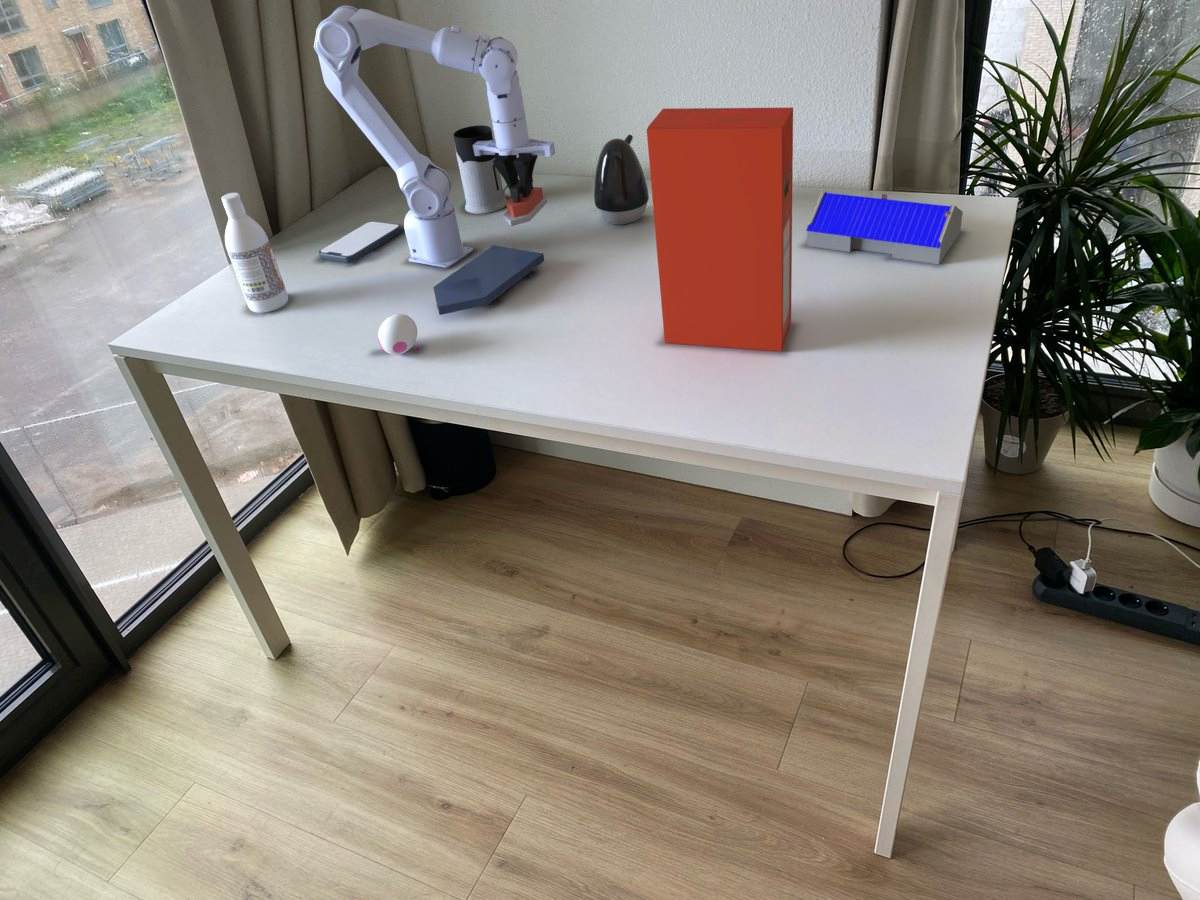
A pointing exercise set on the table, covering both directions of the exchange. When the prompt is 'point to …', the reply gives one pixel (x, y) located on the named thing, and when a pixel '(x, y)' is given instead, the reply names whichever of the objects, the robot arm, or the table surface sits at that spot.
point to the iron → (523, 204)
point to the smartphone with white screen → (360, 242)
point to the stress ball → (397, 334)
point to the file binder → (723, 224)
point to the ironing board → (485, 278)
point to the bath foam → (252, 259)
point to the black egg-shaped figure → (620, 183)
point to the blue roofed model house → (884, 226)
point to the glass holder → (478, 172)
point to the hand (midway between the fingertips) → (521, 195)
